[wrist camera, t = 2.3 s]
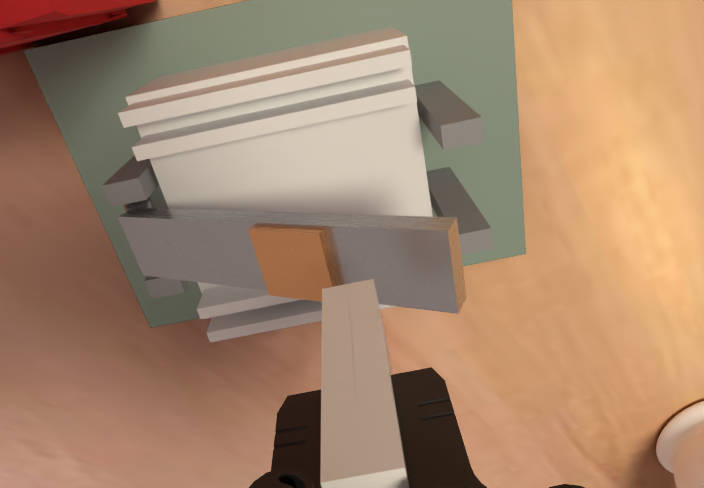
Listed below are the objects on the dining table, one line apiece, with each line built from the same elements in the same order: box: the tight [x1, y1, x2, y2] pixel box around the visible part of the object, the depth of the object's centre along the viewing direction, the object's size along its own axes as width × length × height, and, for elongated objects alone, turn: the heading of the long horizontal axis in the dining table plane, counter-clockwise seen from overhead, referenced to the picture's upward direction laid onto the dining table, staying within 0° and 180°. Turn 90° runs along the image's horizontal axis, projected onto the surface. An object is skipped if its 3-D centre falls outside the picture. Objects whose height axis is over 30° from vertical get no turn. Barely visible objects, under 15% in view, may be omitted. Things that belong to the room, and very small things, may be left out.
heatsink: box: [24, 0, 526, 343], centre depth 26 cm, size 24×17×9 cm
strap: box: [118, 196, 466, 314], centre depth 20 cm, size 15×3×2 cm
